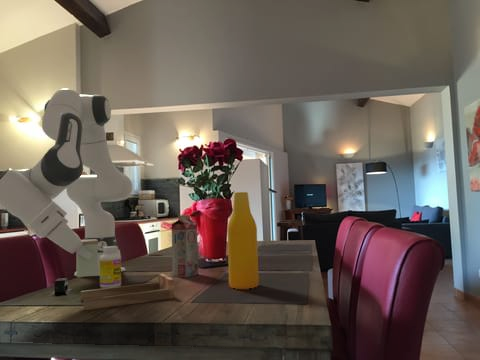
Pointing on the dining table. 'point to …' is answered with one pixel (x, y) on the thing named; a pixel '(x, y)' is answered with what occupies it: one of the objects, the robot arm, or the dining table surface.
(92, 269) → the cream tall block
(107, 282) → the supplement bottle
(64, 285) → the black box
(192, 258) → the juice carton
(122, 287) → the bay
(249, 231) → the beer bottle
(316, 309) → the dining table surface
